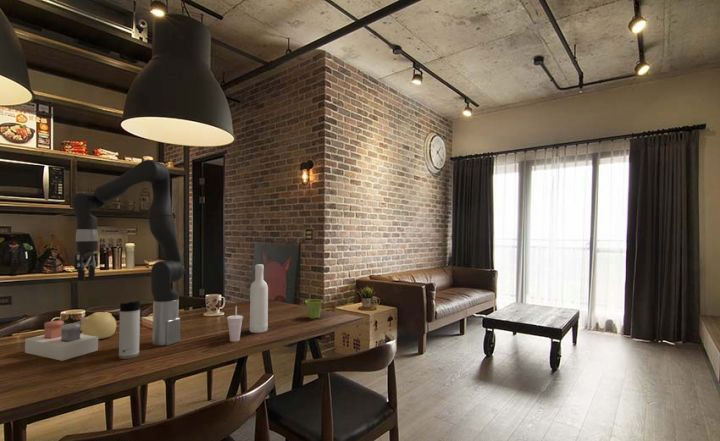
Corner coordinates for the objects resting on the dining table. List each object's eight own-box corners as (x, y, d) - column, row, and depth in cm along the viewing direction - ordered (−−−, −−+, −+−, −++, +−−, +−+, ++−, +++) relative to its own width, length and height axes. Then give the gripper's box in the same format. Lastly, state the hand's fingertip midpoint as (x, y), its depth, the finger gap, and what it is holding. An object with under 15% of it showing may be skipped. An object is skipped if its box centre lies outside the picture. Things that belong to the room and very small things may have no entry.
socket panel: (97, 350, 140) (98, 337, 140) (62, 360, 128) (62, 346, 129) (61, 343, 148) (61, 330, 148) (24, 352, 136) (25, 339, 137)
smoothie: (246, 339, 155) (246, 305, 155) (235, 343, 149) (235, 308, 149) (234, 337, 157) (234, 304, 158) (223, 341, 152) (223, 307, 152)
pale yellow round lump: (105, 332, 163) (105, 308, 164) (121, 336, 158) (122, 310, 158) (76, 339, 153) (76, 313, 153) (92, 343, 148) (93, 316, 148)
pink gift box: (66, 336, 142) (67, 321, 142) (49, 340, 136) (50, 324, 137) (57, 335, 144) (57, 319, 144) (40, 339, 138) (41, 323, 139)
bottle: (261, 333, 163) (261, 265, 164) (246, 332, 166) (246, 265, 166) (271, 329, 171) (271, 264, 171) (256, 327, 173) (257, 263, 174)
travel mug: (124, 360, 129) (125, 303, 129) (115, 357, 132) (116, 301, 133) (143, 355, 134) (144, 300, 135) (133, 352, 138) (134, 298, 138)
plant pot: (302, 319, 190) (302, 302, 190) (307, 315, 199) (308, 298, 199) (320, 320, 188) (320, 302, 189) (324, 315, 198) (324, 299, 198)
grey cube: (83, 339, 138) (84, 323, 138) (67, 344, 133) (67, 327, 133) (74, 338, 140) (74, 322, 140) (57, 342, 135) (57, 325, 135)
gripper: (88, 240, 149) (88, 280, 149) (104, 239, 163) (104, 276, 163) (67, 240, 148) (66, 281, 147) (85, 240, 162) (85, 277, 161)
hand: (86, 278), depth 155 cm, fingers open, 8 cm apart
